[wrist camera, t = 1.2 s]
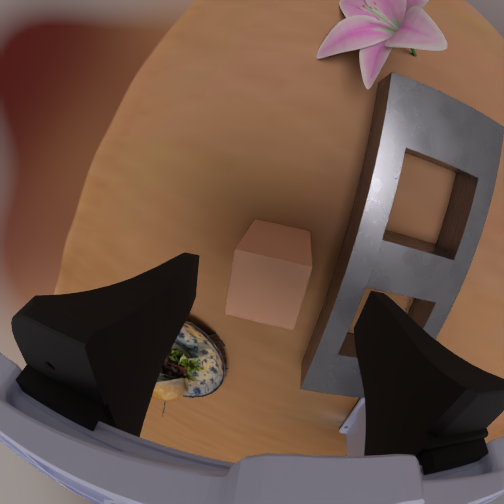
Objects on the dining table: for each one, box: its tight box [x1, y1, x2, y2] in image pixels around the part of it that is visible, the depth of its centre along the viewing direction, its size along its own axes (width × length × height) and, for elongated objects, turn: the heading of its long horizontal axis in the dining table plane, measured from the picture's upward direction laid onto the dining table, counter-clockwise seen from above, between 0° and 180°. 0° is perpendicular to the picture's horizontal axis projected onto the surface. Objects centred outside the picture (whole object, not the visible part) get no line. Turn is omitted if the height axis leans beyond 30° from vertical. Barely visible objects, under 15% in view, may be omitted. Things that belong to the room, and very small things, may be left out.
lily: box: [316, 0, 447, 89], centre depth 13 cm, size 11×11×9 cm
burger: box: [152, 321, 228, 417], centre depth 26 cm, size 12×12×8 cm
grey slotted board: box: [300, 72, 504, 398], centre depth 20 cm, size 26×10×4 cm, turn 170°
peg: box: [225, 219, 312, 330], centre depth 20 cm, size 4×4×7 cm
